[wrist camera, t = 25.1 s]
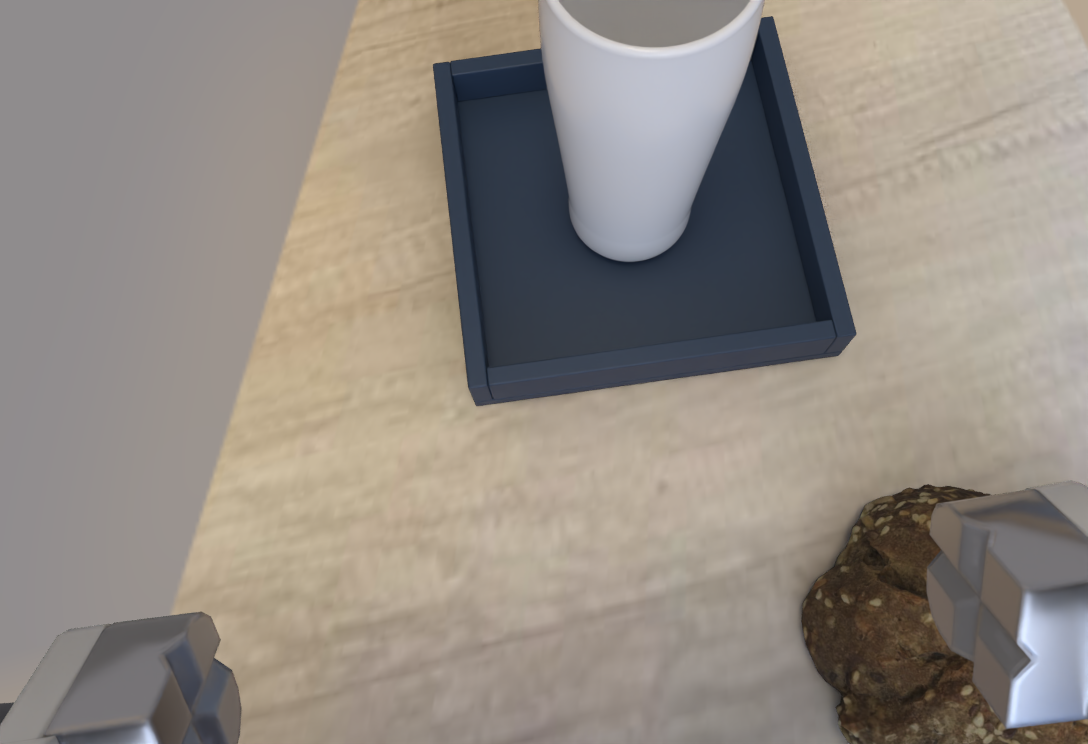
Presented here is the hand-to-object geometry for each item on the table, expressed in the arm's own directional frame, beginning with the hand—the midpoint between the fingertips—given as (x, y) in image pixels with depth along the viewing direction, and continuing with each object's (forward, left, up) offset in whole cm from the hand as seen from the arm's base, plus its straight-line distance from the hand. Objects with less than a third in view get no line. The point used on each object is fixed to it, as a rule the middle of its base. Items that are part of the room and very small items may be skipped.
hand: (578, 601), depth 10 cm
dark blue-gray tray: (+5, +18, -25) cm, 31 cm away
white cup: (+5, +18, -25) cm, 31 cm away
